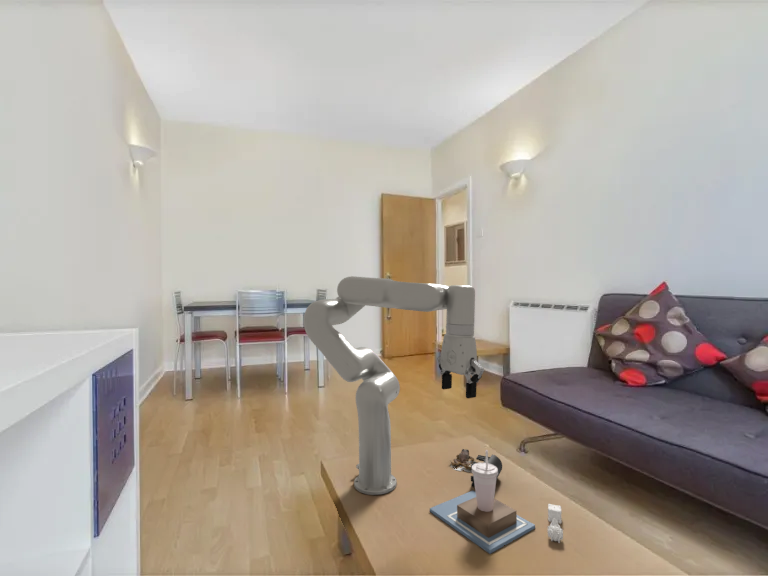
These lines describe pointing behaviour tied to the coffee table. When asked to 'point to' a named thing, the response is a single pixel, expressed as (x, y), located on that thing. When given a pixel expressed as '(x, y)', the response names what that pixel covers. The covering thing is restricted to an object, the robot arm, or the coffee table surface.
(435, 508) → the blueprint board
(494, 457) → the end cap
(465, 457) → the frog figurine
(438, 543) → the coffee table surface
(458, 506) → the plinth
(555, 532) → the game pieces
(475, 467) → the smoothie
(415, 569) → the coffee table surface
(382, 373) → the robot arm
